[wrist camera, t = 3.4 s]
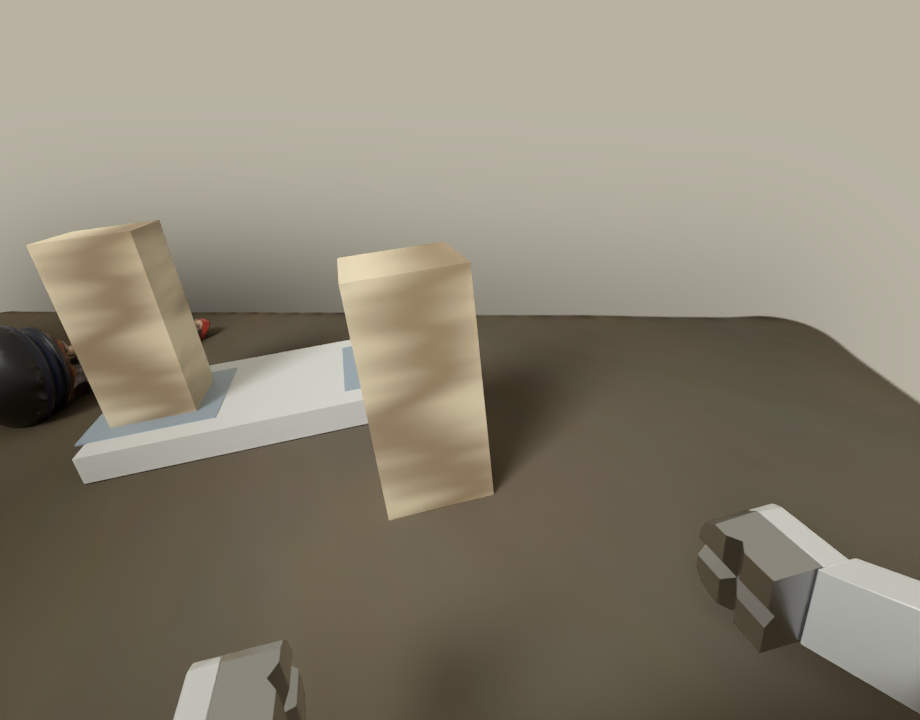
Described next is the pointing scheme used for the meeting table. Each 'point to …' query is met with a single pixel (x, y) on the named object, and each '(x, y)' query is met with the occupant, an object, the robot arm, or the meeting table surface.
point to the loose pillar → (419, 374)
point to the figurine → (41, 374)
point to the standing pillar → (126, 319)
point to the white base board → (236, 413)
